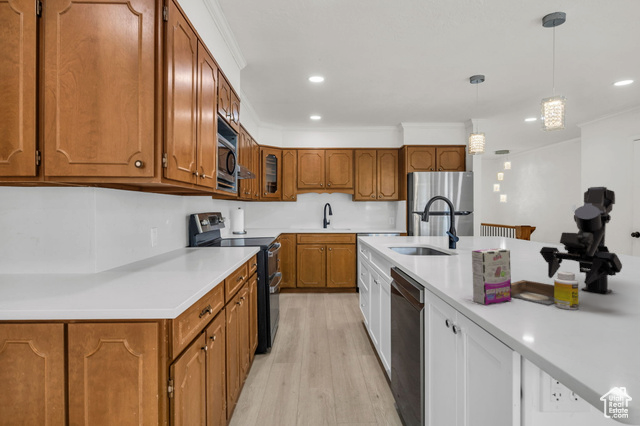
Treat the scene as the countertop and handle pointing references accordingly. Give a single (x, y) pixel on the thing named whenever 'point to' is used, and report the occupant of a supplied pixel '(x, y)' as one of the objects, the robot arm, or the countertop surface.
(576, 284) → the supplement bottle
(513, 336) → the countertop surface
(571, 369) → the countertop surface
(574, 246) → the robot arm
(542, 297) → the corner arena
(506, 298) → the candy bar box
